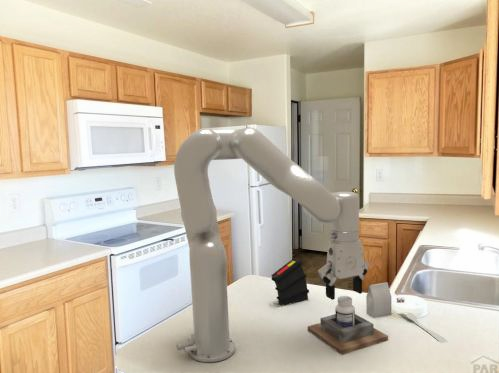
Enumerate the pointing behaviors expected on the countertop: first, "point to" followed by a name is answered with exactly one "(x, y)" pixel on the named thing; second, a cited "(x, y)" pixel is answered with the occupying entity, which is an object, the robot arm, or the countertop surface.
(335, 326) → the mount
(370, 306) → the grey upright pouch
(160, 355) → the countertop surface
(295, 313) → the countertop surface
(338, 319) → the pill bottle
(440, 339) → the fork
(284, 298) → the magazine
